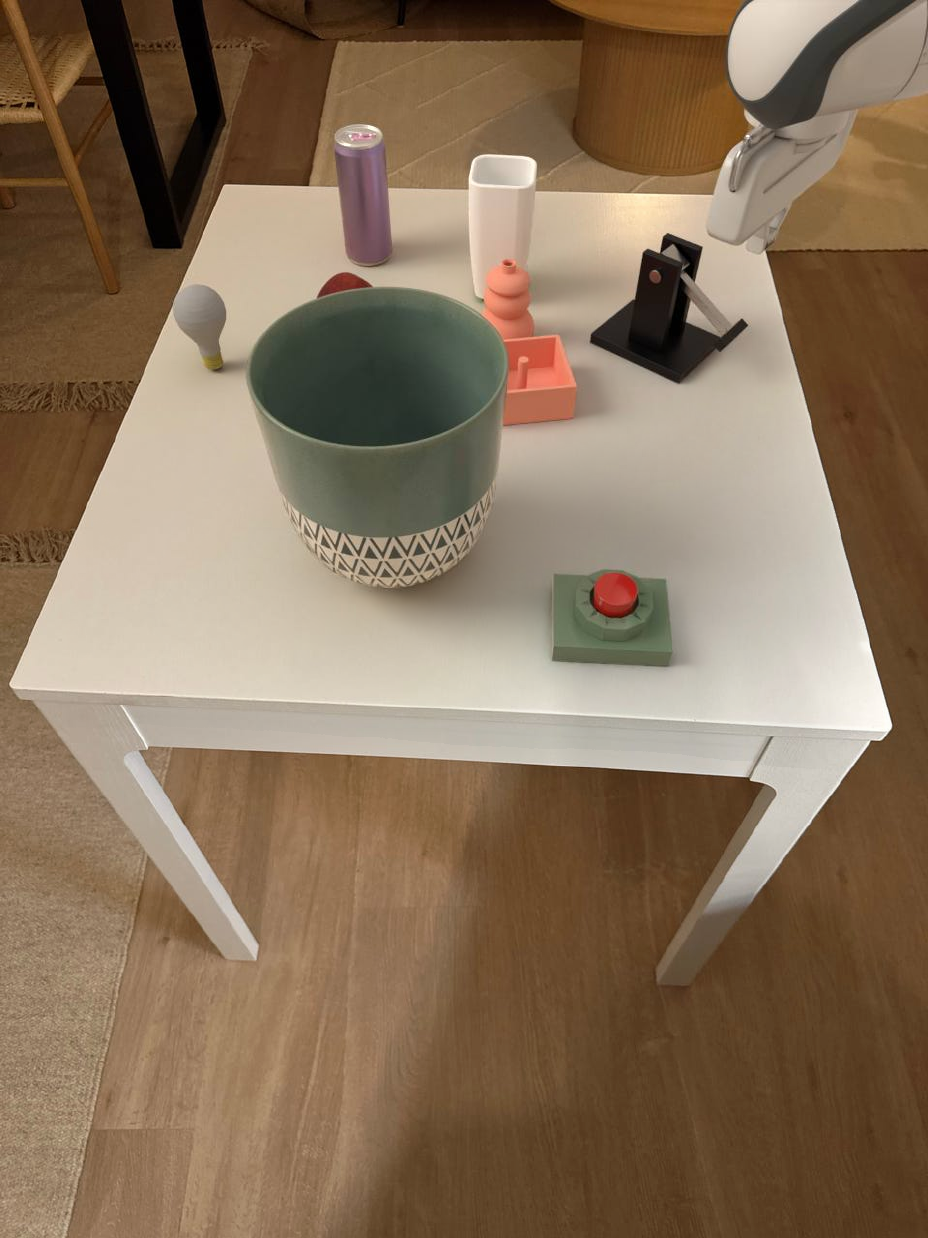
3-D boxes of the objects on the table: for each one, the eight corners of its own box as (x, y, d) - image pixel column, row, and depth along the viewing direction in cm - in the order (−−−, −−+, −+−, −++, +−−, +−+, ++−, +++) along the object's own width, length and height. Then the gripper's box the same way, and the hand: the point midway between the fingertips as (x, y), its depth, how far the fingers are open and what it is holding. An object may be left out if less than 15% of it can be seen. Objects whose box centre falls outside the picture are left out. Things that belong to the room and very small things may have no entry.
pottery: (573, 418, 96) (582, 339, 88) (486, 426, 95) (488, 348, 88) (540, 320, 107) (546, 242, 99) (462, 327, 106) (461, 249, 98)
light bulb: (186, 359, 102) (163, 279, 95) (233, 348, 104) (214, 269, 96) (195, 387, 99) (171, 308, 91) (243, 376, 101) (224, 297, 93)
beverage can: (390, 268, 114) (382, 147, 102) (344, 267, 114) (330, 146, 102) (394, 243, 117) (386, 123, 106) (348, 242, 118) (335, 122, 106)
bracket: (719, 345, 104) (744, 250, 95) (678, 383, 100) (700, 288, 90) (631, 307, 109) (647, 213, 99) (589, 342, 104) (601, 247, 95)
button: (633, 586, 77) (636, 572, 76) (635, 618, 75) (639, 606, 74) (591, 583, 78) (594, 570, 76) (592, 616, 75) (595, 603, 74)
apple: (394, 347, 104) (389, 285, 97) (331, 365, 102) (322, 303, 95) (370, 313, 108) (364, 251, 102) (309, 330, 106) (299, 268, 100)
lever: (738, 334, 99) (752, 321, 97) (715, 355, 97) (729, 343, 95) (667, 252, 98) (679, 237, 96) (642, 271, 96) (655, 257, 94)
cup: (530, 276, 113) (537, 155, 101) (526, 309, 108) (534, 188, 97) (472, 272, 113) (473, 152, 101) (466, 306, 109) (467, 184, 97)
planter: (279, 635, 79) (228, 451, 62) (300, 478, 91) (262, 287, 74) (505, 631, 79) (516, 446, 62) (495, 475, 91) (502, 284, 74)
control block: (661, 594, 81) (669, 565, 78) (668, 666, 77) (677, 639, 73) (551, 589, 82) (555, 560, 79) (551, 661, 77) (555, 633, 74)
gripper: (775, 151, 72) (735, 305, 83) (883, 68, 81) (835, 215, 92) (706, 129, 74) (676, 281, 85) (819, 50, 84) (779, 196, 95)
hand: (759, 246), depth 89 cm, fingers closed
